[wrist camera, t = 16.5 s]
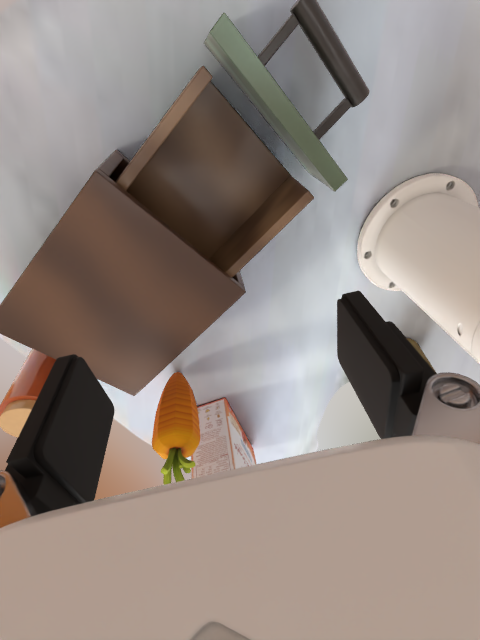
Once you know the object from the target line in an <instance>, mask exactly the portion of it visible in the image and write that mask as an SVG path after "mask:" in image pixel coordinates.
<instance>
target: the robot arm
mask: <svg viewBox="0 0 480 640" xmlns="http://www.w3.org/2000/svg"><path fill="white" fill-rule="evenodd" d="M357 257H358V262H359V265H360V268H361V270H362V272H363V273H364V275H365V276H366V277H367V278H368V279H369V280H370V281H371V282H372V283H373V284H375V285H376V286H378V287H380V288H383V289H386V290H392V291H403V292H404V293H405V294H406V295H407V296H408V297H409V298H410V299H411V300H413V301H414V302H415V303H416V304H417V305H418V306H419V307H420V308H421V309H422V310H423V311H424V312H425V313H426V314H427V315H428V316H429V317H430V318H431V319H433V320H434V321H435V322H436V323H437V324H438V325H439V326H440V327H441V328H442V329H443V330H444V331H445V332H446V333H447V334H448V335H449V336H450V337H451V338H453V339H454V340H455V341H456V342H457V343H458V344H459V345H460V346H461V347H462V348H463V349H464V350H465V351H466V352H467V353H468V354H469V355H470V356H471V357H473V358H474V359H475V360H476V361H477V362H478V363H479V364H480V208H479V207H478V201H477V198H476V195H475V193H474V192H473V190H472V189H471V187H470V186H469V185H468V184H467V183H465V182H464V181H463V180H461V179H459V178H456V177H454V176H451V175H446V174H442V173H430V174H425V175H421V176H417V177H415V178H412V179H410V180H407V181H405V182H404V183H402V184H400V185H399V186H397V187H395V188H394V189H393V190H391V191H390V192H389V193H388V194H387V195H385V196H384V197H383V198H382V199H381V200H380V201H379V203H378V204H377V205H376V206H375V207H374V208H373V210H372V211H371V213H370V214H369V216H368V217H367V219H366V221H365V223H364V225H363V227H362V229H361V232H360V236H359V239H358V246H357ZM337 353H338V359H339V362H340V364H341V366H342V368H343V370H344V372H345V374H346V376H347V377H348V379H349V381H350V383H351V385H352V387H353V388H354V390H355V392H356V394H357V396H358V398H359V400H360V402H361V403H362V405H363V407H364V409H365V411H366V412H367V414H368V416H369V418H370V420H371V422H372V424H373V426H374V428H375V429H376V431H377V433H378V435H379V436H380V438H381V439H379V440H373V441H368V442H363V443H357V444H352V445H347V446H342V447H337V448H332V449H327V450H322V451H317V452H313V453H308V454H303V455H298V456H294V457H289V458H284V459H280V460H275V461H270V462H266V463H261V464H256V465H252V466H247V467H243V468H238V469H233V470H229V471H224V472H220V473H215V474H211V475H206V476H201V477H197V478H192V479H189V480H183V481H179V482H175V483H170V484H165V485H161V486H157V487H152V488H147V489H143V490H139V491H134V492H130V493H125V494H121V495H116V496H112V497H108V498H103V499H99V500H94V498H95V494H96V490H97V485H98V481H99V477H100V472H101V468H102V464H103V460H104V455H105V451H106V446H107V442H108V438H109V434H110V429H111V425H112V421H113V416H114V406H113V404H112V402H111V400H110V399H109V397H108V396H107V394H106V393H105V391H104V389H103V388H102V386H101V385H100V383H99V382H98V380H97V379H96V377H95V375H94V374H93V372H92V371H91V369H90V368H89V366H88V365H87V363H86V361H85V360H84V359H83V358H82V357H78V356H77V355H76V354H72V355H68V356H63V357H59V358H57V359H56V361H55V363H54V365H53V367H52V369H51V371H50V373H49V375H48V377H47V379H46V381H45V383H44V385H43V387H42V389H41V391H40V394H39V396H38V398H37V400H36V402H35V404H34V406H33V408H32V410H31V412H30V414H29V416H28V418H27V420H26V422H25V424H24V426H23V428H22V431H21V433H20V435H19V437H18V439H17V441H16V443H15V445H14V447H13V449H12V451H11V453H10V455H9V457H8V459H7V461H6V462H7V463H8V466H7V467H6V470H5V471H3V470H0V640H480V385H479V384H478V383H477V382H475V381H474V380H472V379H470V378H468V377H466V376H463V375H460V374H456V373H439V374H436V372H435V371H434V370H433V369H432V368H431V367H430V365H429V364H428V363H427V362H426V361H425V359H424V358H423V357H422V356H421V355H420V354H419V352H418V351H417V350H416V349H415V348H414V347H413V345H412V344H411V343H410V342H409V341H408V340H407V338H406V337H405V336H404V335H403V334H402V333H401V331H400V330H399V329H398V328H397V327H396V326H395V324H393V323H392V322H390V321H389V322H385V321H384V320H383V318H382V317H381V316H380V315H379V314H378V312H377V311H376V310H375V309H374V308H373V306H372V305H371V304H370V303H369V301H368V300H367V299H366V298H365V297H364V295H363V294H362V293H361V292H360V291H355V292H351V293H346V294H343V295H342V299H338V301H337Z"/></svg>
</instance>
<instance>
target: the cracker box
mask: <svg viewBox="0 0 480 640" xmlns="http://www.w3.org/2000/svg"><path fill="white" fill-rule="evenodd" d="M197 409H198V417H199V427H200V443H199V445H198V447H197V449H196V450H195V452H194V453H193V455H191V461H194V462H195V465H196V466H195V467H193V468H191V479H192V478H197V477H201V476H206V475H211V474H215V473H220V472H224V471H229V470H233V469H238V468H243V467H247V466H252V465H256V460H255V455H254V451H253V448H252V446H251V444H250V442H249V440H248V439H247V437H246V435H245V433H244V431H243V429H242V428H241V426H240V424H239V422H238V420H237V418H236V416H235V414H234V413H233V411H232V409H231V407H230V405H229V403H228V401H227V400H226V398H222V399H219V400H217V401H214V402H211V403H208V404H205V405H202V406H199V407H197Z"/></svg>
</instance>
